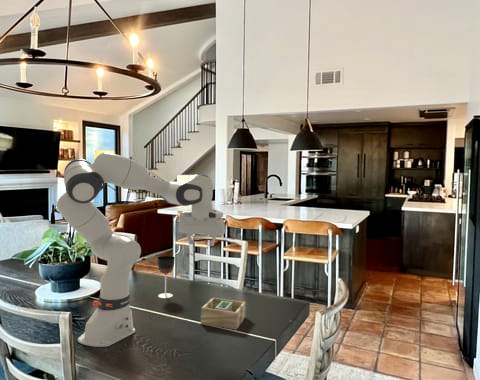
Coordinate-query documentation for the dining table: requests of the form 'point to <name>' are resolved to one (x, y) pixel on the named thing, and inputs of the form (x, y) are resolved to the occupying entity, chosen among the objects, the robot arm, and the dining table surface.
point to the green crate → (224, 306)
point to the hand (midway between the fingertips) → (201, 244)
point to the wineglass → (165, 270)
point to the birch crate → (223, 314)
